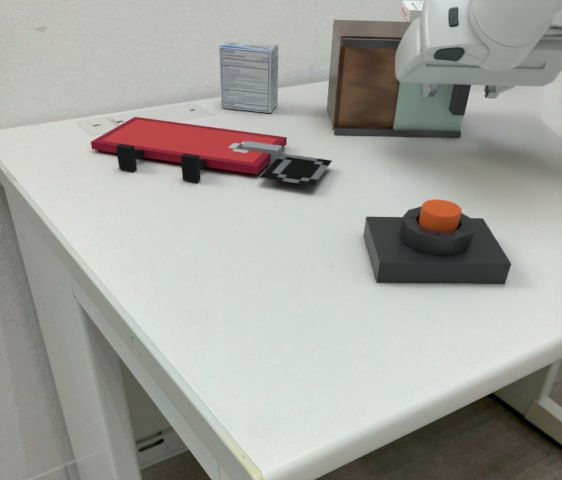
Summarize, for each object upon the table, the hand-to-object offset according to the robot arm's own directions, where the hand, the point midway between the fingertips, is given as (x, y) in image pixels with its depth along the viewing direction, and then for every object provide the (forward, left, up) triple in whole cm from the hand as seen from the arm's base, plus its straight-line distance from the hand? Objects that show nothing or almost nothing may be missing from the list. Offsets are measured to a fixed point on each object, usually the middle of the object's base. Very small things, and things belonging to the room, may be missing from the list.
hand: (459, 92), depth 80 cm
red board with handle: (+19, +29, -6) cm, 35 cm away
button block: (-14, +33, -6) cm, 36 cm away
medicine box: (+29, +10, -6) cm, 31 cm away
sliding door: (+2, +2, -5) cm, 6 cm away
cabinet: (+10, 0, -6) cm, 12 cm away
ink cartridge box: (+18, -20, -6) cm, 28 cm away
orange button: (-14, +33, -2) cm, 36 cm away
